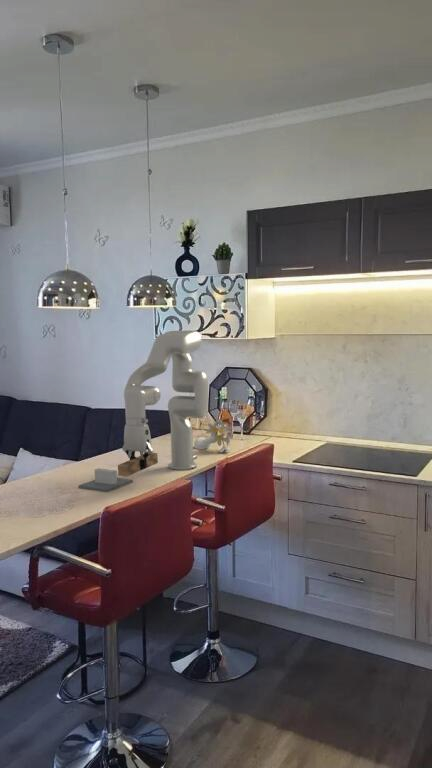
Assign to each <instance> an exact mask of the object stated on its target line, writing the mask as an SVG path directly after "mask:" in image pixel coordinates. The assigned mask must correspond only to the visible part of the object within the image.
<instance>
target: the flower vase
mask: <svg viewBox="0 0 432 768" xmlns="http://www.w3.org/2000/svg"><path fill="white" fill-rule="evenodd" d="M214 420H215V422H214V423H213V424H212V423H209V422H208V425H207V426H208V428H209V429H207V430H206V432H205V434H210V436H209V437H207V438H206V437H204V436H203V437H202V436H199V437H197V438H196V439H195V440H194V443H193V449H195V448H208V449H210V448H209V447H212V444H215V443H217V445H218V446H219V447H220V446H222V444H223V446H222V447H221V448H220V449H219V450H218V451H217V453H221V452H227V451H233V449H232V448H229V447H228V446H230V442H231V439H232V438H233V436H234V435H233V432H232V429H233V426H232V425H229V422H225V421H224V420H223V419H222V418H219V419H218V418H216V417H214ZM225 425H226V426H225ZM225 443H226V446H225Z"/></svg>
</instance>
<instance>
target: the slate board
mask: <svg viewBox="0 0 432 768" xmlns="http://www.w3.org/2000/svg"><path fill="white" fill-rule="evenodd" d="M117 474H118V470H115V469H107V468H96V469H94V479H92V480H90V481H86V482H84V483H81V484H78V489H84V490H89V491H90V490H91V491H97V492H104V493H109V492H110V491H114V490H115V489H119V488H121V487H124V486H127V485H129V484H132V483H133V481H134V480H133V479H129V478H123V477H118V475H117Z"/></svg>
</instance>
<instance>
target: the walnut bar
mask: <svg viewBox="0 0 432 768" xmlns="http://www.w3.org/2000/svg"><path fill="white" fill-rule="evenodd" d="M135 457H136V458H134V459H131V460H130V459H129V460H126V461H124V462H122V463H120V464H117V474H118V475H117V477H118V476H119V477H125V478H126V477H127V478H128V477H129V476H133V475H134V474H136V473H138V472H140V471H142V470H141V469H140V459H141V456H140V455H138V456H135ZM158 458H159V457H158V452H152V453H151V454H150V455H149V456H148V458H146V461H147V468H150V467H152V466H154V465H157V464H158V463H159V459H158ZM147 468H146V469H147Z"/></svg>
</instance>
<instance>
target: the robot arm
mask: <svg viewBox="0 0 432 768" xmlns="http://www.w3.org/2000/svg"><path fill="white" fill-rule="evenodd" d="M202 340H203V339H202V334H200V332H198V330H169V331H166V332H164V333H160V334H159V335H157V337H156V338H155V340H154V342H153V343H152V347H151V350H150V352H149V355H148V357H147V360H146V362H145V363H143V364H142V365H140V366H139V367H138V368H137V369H135V371H133V372H132V374H130V376H129V377H128V379H127V381H126V382H127V383H126V385H125V387H124V390H123V398H124V410H125V424H124V429H123V430H124V432H123V445H122V448H121V450H122V451H123V452H125V454H126V456H127V458H129V460H131V459H134V458H136V457H137V456H136V452H139V454H140V455H139V456H141V459H140V469H141V471H142V470H143V471H144V470H145V469H147V461H146V458H148V456H149V455H150V454H151V453H154V449H153V448H152V437H151V431H150V427H149V424H148V422H149V419H147V414H146V406H154V405H156V404H157V403H158V402H160V400H161V392H160V389H159V388H158V387H156V386H154V385H143V384H144V382H146V381H147V380H150V379H152V378H154V377H157V376H159V375H161V374H163V373H165V372H166V371H167V369H168V366H169V363H170V361H172V373H171V374H172V376H171V377H172V378H171V382H172V383H171V385H172V386H171V387H172V389H173V391H175V392H176V393H185V394H194V395H193V396H192V395H175V396H172V397H171V398H169V400H168V403H167V409H168V414H169V420H170V447H171V448H170V449H171V451H170V453H171V454H170V455H171V462H170V463H168V464H167V466H168V469H171V470H176V471H186V470H192V468H193V469H196V468H197V463H196V462H194V461H195V460H197V459H198V454H194V443H193V441H194V440H193V436H194V434H193V425H192V422H191V421H190V420H189V419H203V418H204V417H206V416H207V413H208V409H209V407H208V405H209V379H208V376H207V374H206V373H205V372H203V371H200V370H193V367H192V366H193V360H192V359H193V358H192V357H191V354H190V353H192V352H196V351H198V350H199V349H200V348H201V345H202ZM195 467H196V468H195Z"/></svg>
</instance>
